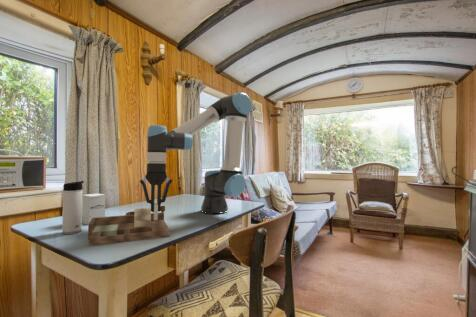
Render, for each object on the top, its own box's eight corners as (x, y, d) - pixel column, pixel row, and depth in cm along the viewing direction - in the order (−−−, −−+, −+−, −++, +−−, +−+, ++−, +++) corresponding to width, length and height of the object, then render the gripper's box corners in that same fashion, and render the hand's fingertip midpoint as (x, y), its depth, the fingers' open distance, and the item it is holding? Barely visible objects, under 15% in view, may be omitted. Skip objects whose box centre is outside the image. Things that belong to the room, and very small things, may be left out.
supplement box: (88, 225, 102) (88, 196, 102) (79, 222, 106) (80, 194, 106) (105, 221, 109) (105, 194, 109) (96, 219, 113) (97, 192, 113)
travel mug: (82, 233, 92) (83, 181, 92) (61, 235, 88) (62, 182, 88) (83, 229, 97) (84, 180, 97) (63, 231, 94) (64, 180, 94)
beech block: (149, 222, 100) (149, 207, 100) (150, 225, 95) (151, 210, 95) (134, 223, 98) (134, 208, 98) (134, 227, 92) (134, 212, 92)
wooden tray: (163, 224, 105) (163, 212, 105) (169, 236, 89) (169, 222, 89) (92, 231, 94) (92, 217, 94) (84, 246, 78) (84, 229, 78)
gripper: (171, 162, 104) (170, 216, 104) (139, 162, 99) (138, 218, 99) (174, 163, 98) (172, 220, 97) (140, 162, 92) (138, 223, 92)
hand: (155, 219), depth 98 cm, fingers closed
